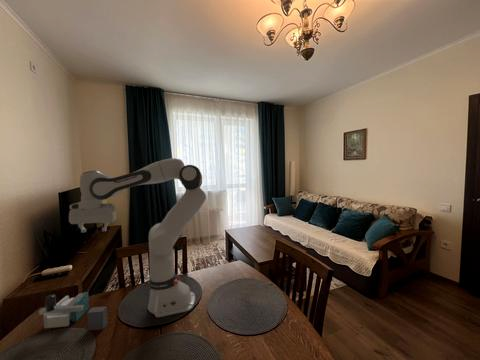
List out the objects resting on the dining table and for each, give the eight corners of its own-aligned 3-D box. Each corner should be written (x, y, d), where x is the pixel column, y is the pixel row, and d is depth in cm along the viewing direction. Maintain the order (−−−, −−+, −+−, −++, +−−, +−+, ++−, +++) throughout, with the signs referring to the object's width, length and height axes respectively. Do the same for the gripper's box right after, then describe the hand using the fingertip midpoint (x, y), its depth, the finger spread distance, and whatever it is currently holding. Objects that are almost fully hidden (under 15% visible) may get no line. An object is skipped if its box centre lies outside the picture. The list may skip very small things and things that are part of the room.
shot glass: (71, 321, 92) (69, 306, 92) (56, 321, 93) (54, 306, 92) (84, 310, 99) (82, 296, 99) (70, 311, 100) (68, 297, 99)
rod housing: (107, 323, 91) (106, 306, 91) (103, 329, 88) (102, 311, 87) (92, 325, 90) (91, 307, 90) (88, 330, 87) (87, 312, 87)
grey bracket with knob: (101, 306, 102) (99, 277, 101) (81, 330, 87) (79, 296, 86) (65, 309, 100) (63, 280, 99) (38, 334, 85) (36, 299, 84)
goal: (87, 306, 103) (86, 294, 103) (67, 326, 90) (66, 312, 90) (66, 307, 102) (66, 295, 102) (44, 328, 89) (43, 314, 89)
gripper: (117, 201, 107) (119, 228, 108) (74, 203, 105) (76, 230, 106) (111, 204, 101) (113, 232, 102) (65, 206, 99) (67, 234, 99)
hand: (94, 231), depth 104 cm, fingers open, 8 cm apart
